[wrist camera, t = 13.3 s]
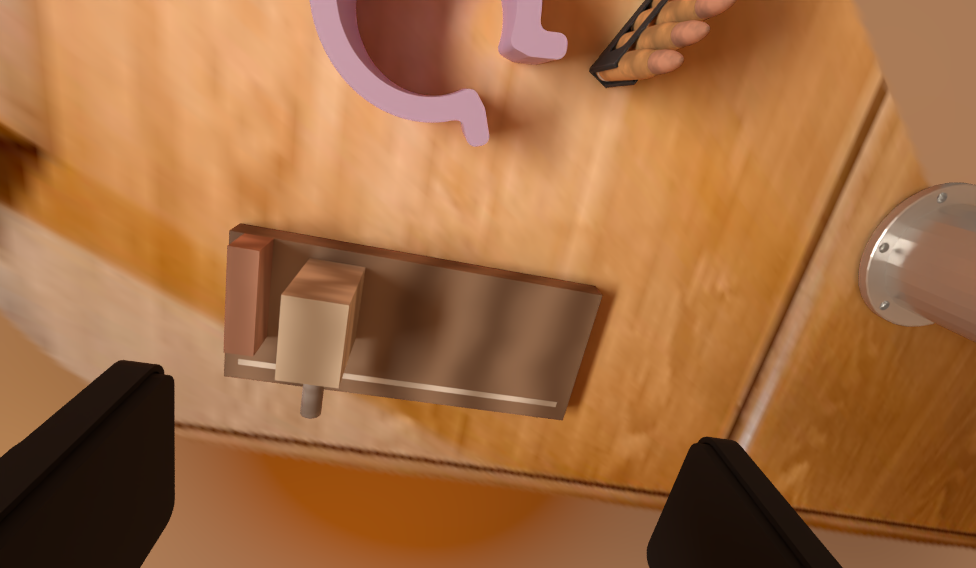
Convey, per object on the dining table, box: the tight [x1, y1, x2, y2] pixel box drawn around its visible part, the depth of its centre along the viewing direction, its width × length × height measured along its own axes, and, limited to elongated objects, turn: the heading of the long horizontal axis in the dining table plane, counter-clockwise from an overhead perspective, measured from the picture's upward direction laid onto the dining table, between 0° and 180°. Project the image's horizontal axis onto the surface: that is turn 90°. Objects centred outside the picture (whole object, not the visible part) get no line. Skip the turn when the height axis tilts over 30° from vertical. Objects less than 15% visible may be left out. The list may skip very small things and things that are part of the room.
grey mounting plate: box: [224, 224, 602, 420], centre depth 39 cm, size 28×12×5 cm, turn 78°
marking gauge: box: [275, 258, 365, 419], centre depth 35 cm, size 4×10×7 cm, turn 168°
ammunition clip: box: [589, 0, 736, 88], centre depth 29 cm, size 11×2×12 cm, turn 140°
